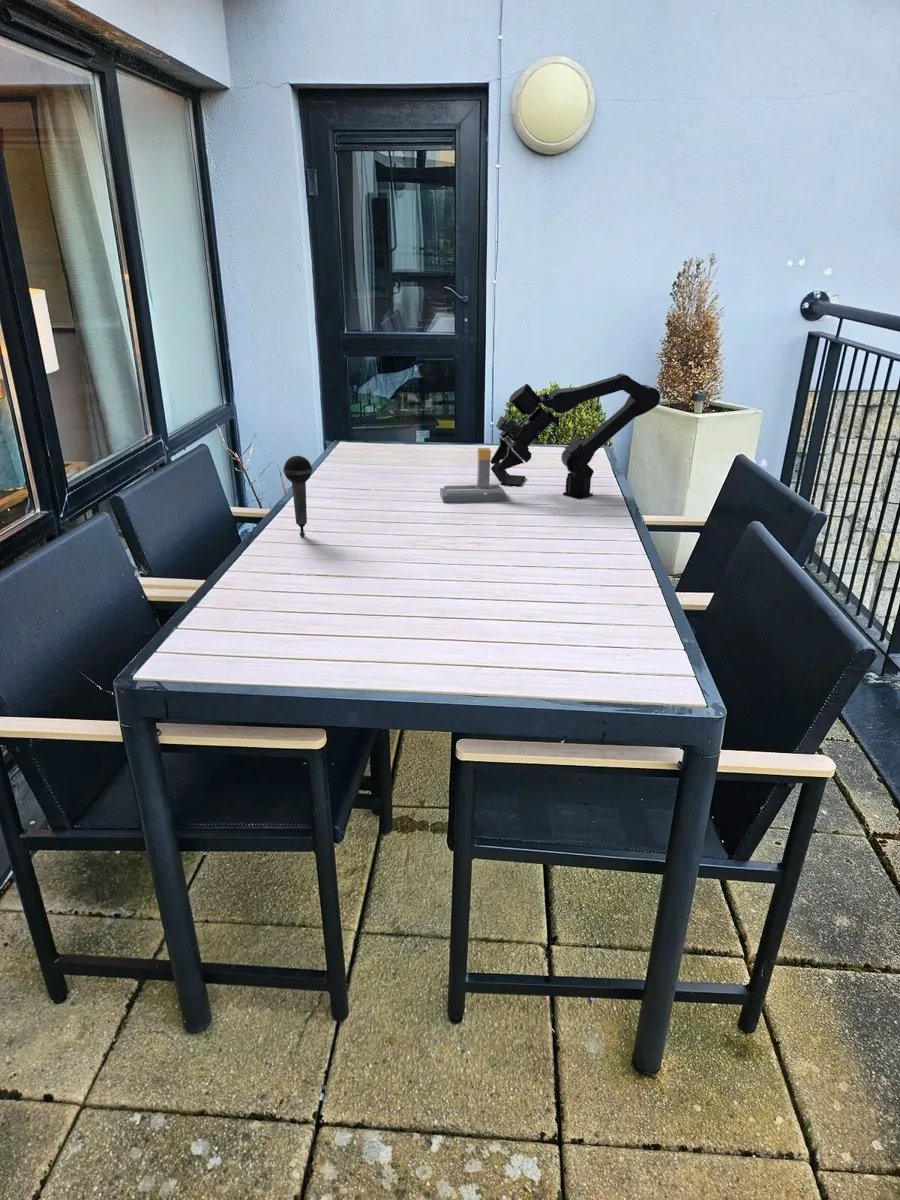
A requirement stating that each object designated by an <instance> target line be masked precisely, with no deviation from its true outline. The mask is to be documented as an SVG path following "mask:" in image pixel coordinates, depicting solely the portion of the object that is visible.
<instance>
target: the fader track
mask: <svg viewBox="0 0 900 1200" xmlns="http://www.w3.org/2000/svg"><path fill="white" fill-rule="evenodd" d="M474 485H475V484H446V485H445V484H444V485H443V487H441V488H439V495H440V498H441V500H442V502H443V504H444V503H446V504H448V503H483V502H484V503H486V502H490V503H491V502H493V503H494V502H507V493H506V491H505V490H504V489H503V486H500V484H499V483H494V484H490V483H489V485H491V486H492V487H493V489H474Z"/></svg>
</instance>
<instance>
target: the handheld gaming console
mask: <svg viewBox="0 0 900 1200" xmlns="http://www.w3.org/2000/svg"><path fill="white" fill-rule="evenodd" d="M500 463H501V460H500V461H499V462H497V463H495V464H492V466H491V467H490V469H491V470H490V471H492V473H493V474H494V476H495V477H496V478H497V480H498V481H499V483H500V486H501V485H504V486H503V487H513V486H516V487H515V488H520V487H521V486H522V485H521V484H523V483H524V482H525V480H526V475H516V474H514V475H513V474H510V473H508V472H507V469H506V470H503V471H501V472H497V471H496V468H497V467H498V465H499V464H500ZM524 479H525V480H524ZM523 481H524V482H523Z"/></svg>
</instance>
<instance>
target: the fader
mask: <svg viewBox="0 0 900 1200" xmlns="http://www.w3.org/2000/svg"><path fill="white" fill-rule="evenodd" d="M491 453H492V450H491V448H489V447H481V448H480V447H478V448H477V481H476V483H477V484H473V485H474V489H493V487H492V486H491V485H489V484H490V475H491V474H490V473H491V472H490V471H491V470H490V469H491V462H490V461H491V459H492V457H491V456H492V455H491Z"/></svg>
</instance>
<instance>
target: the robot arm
mask: <svg viewBox="0 0 900 1200" xmlns="http://www.w3.org/2000/svg"><path fill="white" fill-rule="evenodd" d="M619 391H620V392H621V391H624V392H625V393H626V394H628V395H629V396H628V397H627V399H626V401H625V403H624V404H623V406H622V407H620V409H619V410H617V411H616V412H615V413H614V414H613V415H611V417H609V419H607V420H606V421H605V422H603V423H602V424H601V425H599V427H597V429H595V431H593V432H592V433H591V434H590V435H589V436H588V437H586V438H585V439H583V440H581V441H580V440H578V439H577V438H575V439H573V440H572V441H571V443H570V444H568V445H567V446H565V447H564V450H563V452H562V453H561V458H560V459H561V462H562V464H563V465H564V466H565V467H566V468H567V471H568V472H569V473H567V477H566V480H565V492H562V495H563V496H566V497H570V498H574V499H578V500H581V499H585V498H589V497H592V496H594V493H593V492H591V483H592V476H593V474H594V470H593V468H591V466H590V465H589V463H590V462H591V461H592V459H593V457H594V455H595V453H596V452H597V451H598V450H599V449H600V448H601V447H603V445H605V444H606V443H607V442H608V441H609V440H611V439H612V438H613V437H614V436H615V435H616V434H617V433H618V432H619V431H621V430H622V429H623V428H625V427H626V426H627V425H628V424H630V422H631V421H632V420H634V419H635V418H638V417H640V416H642V415H644V414H647V413H648V412H649V411H651V410H653V409H655V408H656V407H657V406H658V405H659V404H660V402H661V393H660V391H659V390H658V389H657V388H655V387H652V386H650V385H648V384H641V383H639V382H638V381H636V380H634V379H632V378H631V377H630V376H629V375H627V374H625V373H617V374H616V375H614V376H611V377H608V378H604V379H601V380H598V381H594V382H591V383H588V384H584V385H582V386H578V387H563V388H562V387H561V388H557V389H555V388H554V389H553V390H550V391H549V393H546V394H540V395H538V394H537V393H536V392H535V391H534V390H533V389H532V387H531V386H530V384H529V383H525V384H524V385H523V386H521V387H519V388H518V389H517V390H515V391H513V393H512V394H511V396H510V397H509V399H508V402H509V403H510V404H511V405H512V406H513V407H514V408H515V409H516V410H517V411H518V412H519V413H520V415H522V416H525V415H527V416H528V418H527V419H525V421H523V420H521V421H519V422H518V423H517V421H516V420H515V419H512V418H509V419H508V418H506V417H504V416H500V417H499V419H498V421H497V423H496V426H495V427H496V428H497V429H498V430H499V431H501V432H500V433H499V437H498V440H499V444H498V447H497V449H496V451H495V453H494V454H493V456H492V457H491V459H490V464H491V465H494V464H495V463H497V462H499V461H500V464H499V465H498V467H497V468H496V471H497V472H501V471H503V470H506V471H507V469H510V468H512V467H516V466H518V465H521V464H525V463H526V464H527V463H529V461H530V460H531V459H532V452H531V451H530V450H529V449H530V448H529V447H530V446H531V444H533V442H535V441H538V440H539V439H540V436H541V434H542V433H543V432H544V431H546V429H547V428H549V427H550V425H552V424H553V425H554V426H555V427H557V428H558V427H560V418H561V417H560V416H559V415H558V414H565V413H567V412H569V411H571V410H573V409H575V408H576V407H578V406H579V405H581V404H582V403H585V402H587V401H591V400H594V399H597V398H600V397H604V396H607V395H610V394H613V393H617V392H619ZM540 404H541V405H542V406H544V407H545V408H546V409H544V408H543V407H542V406H541V405H540ZM550 409H551V410H552V411H553V412H555V413H557V414H554V413H552V411H551V410H550Z"/></svg>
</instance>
